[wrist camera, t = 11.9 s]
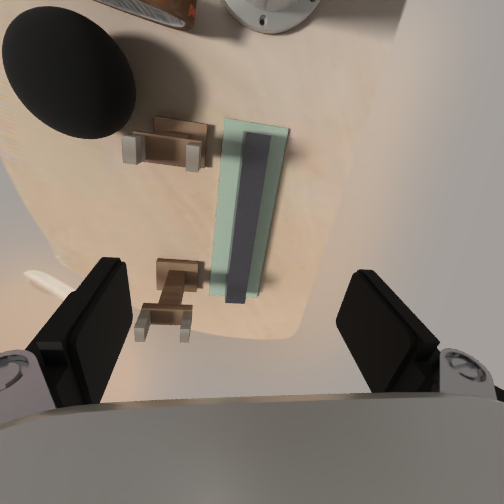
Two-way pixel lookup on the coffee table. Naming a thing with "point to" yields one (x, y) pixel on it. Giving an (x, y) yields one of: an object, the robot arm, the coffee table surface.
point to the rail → (246, 213)
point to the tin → (159, 11)
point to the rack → (168, 270)
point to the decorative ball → (68, 72)
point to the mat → (228, 196)
